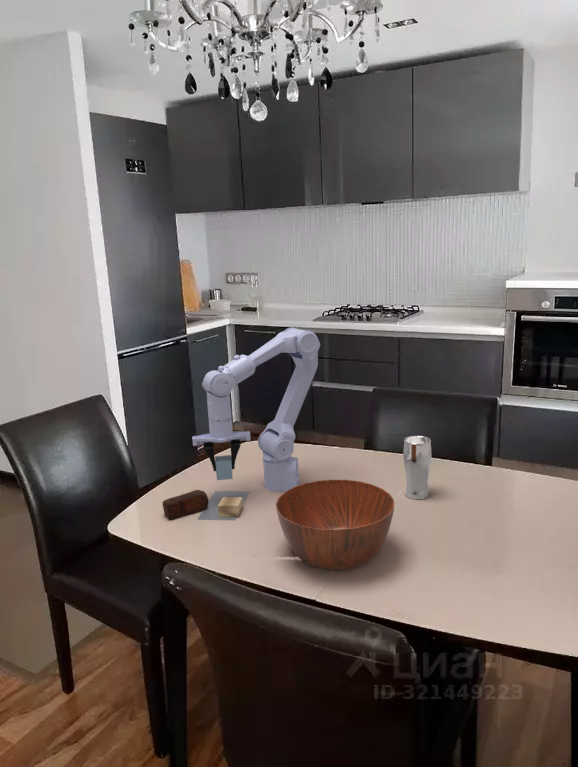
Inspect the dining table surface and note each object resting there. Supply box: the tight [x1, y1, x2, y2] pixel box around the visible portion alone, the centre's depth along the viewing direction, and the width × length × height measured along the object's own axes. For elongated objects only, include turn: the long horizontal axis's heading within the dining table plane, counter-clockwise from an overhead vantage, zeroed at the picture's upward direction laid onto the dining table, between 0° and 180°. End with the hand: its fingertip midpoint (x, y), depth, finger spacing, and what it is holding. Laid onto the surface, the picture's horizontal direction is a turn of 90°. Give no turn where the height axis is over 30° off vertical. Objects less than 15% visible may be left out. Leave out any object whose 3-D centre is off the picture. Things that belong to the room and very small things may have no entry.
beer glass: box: [402, 435, 432, 500], centre depth 154 cm, size 7×7×15 cm
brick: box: [161, 489, 209, 521], centre depth 150 cm, size 11×4×5 cm, turn 122°
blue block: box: [214, 454, 234, 481], centre depth 154 cm, size 4×4×5 cm
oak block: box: [218, 497, 244, 518], centre depth 148 cm, size 5×5×3 cm
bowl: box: [275, 478, 395, 571], centre depth 128 cm, size 25×25×11 cm
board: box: [197, 490, 250, 521], centre depth 153 cm, size 10×17×1 cm, turn 172°
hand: (223, 468), depth 155 cm, fingers closed on blue block, 4 cm apart
